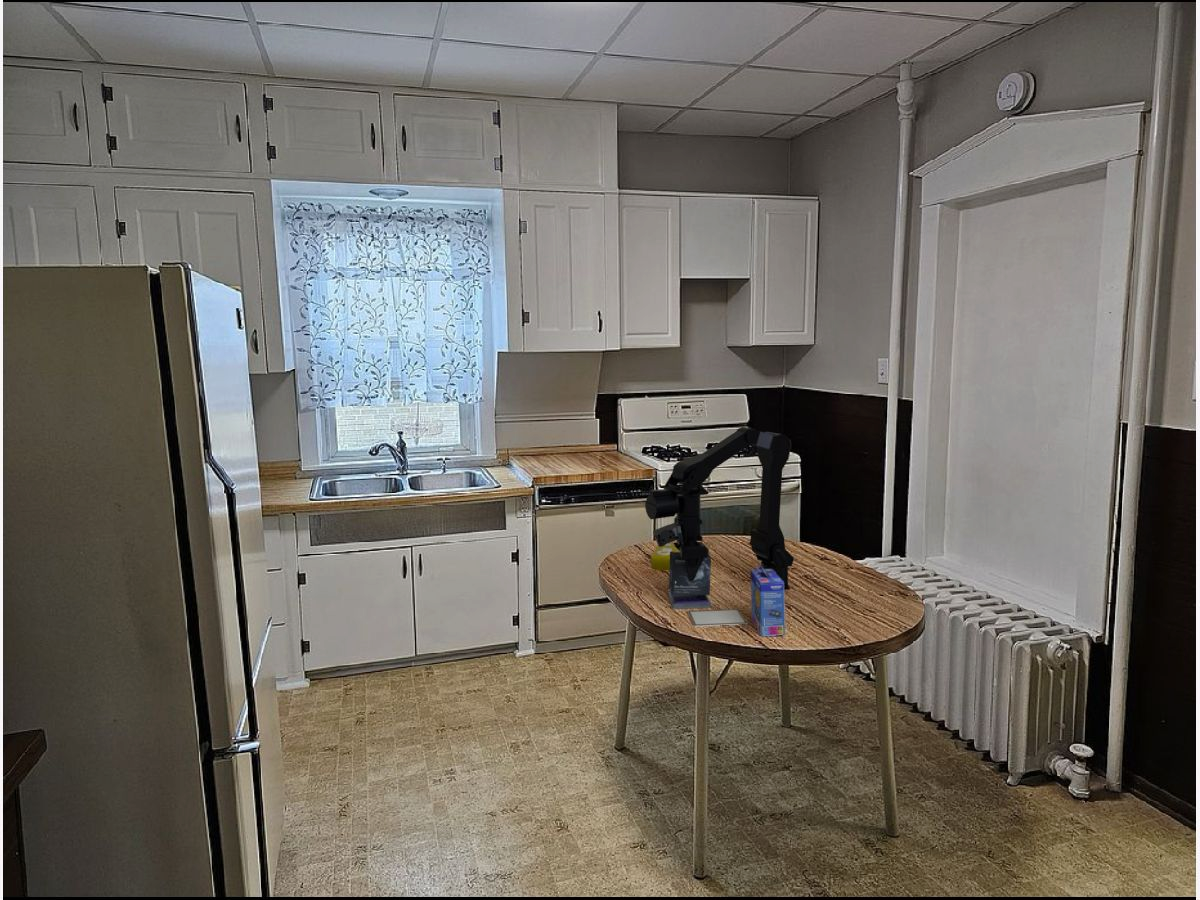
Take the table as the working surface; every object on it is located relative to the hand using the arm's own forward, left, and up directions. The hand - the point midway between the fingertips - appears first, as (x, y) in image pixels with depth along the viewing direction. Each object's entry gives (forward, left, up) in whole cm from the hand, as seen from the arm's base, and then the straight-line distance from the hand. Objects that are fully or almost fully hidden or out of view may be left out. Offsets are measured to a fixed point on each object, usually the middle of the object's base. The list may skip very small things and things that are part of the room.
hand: (689, 576), depth 183 cm
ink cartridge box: (-14, +19, -7) cm, 24 cm away
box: (0, 0, -4) cm, 4 cm away
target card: (-4, +12, -6) cm, 14 cm away
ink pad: (0, 0, -6) cm, 6 cm away
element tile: (-3, -32, -7) cm, 32 cm away
